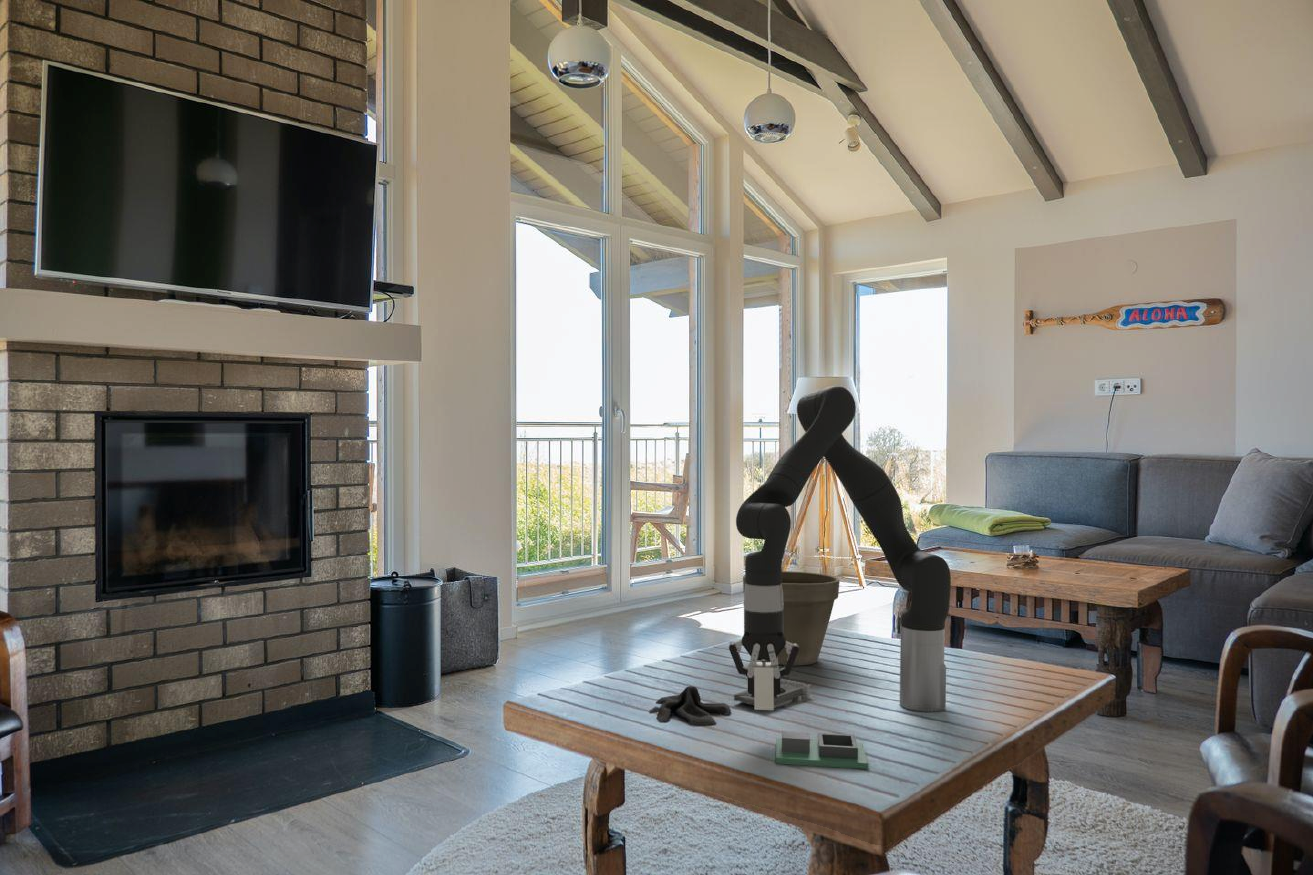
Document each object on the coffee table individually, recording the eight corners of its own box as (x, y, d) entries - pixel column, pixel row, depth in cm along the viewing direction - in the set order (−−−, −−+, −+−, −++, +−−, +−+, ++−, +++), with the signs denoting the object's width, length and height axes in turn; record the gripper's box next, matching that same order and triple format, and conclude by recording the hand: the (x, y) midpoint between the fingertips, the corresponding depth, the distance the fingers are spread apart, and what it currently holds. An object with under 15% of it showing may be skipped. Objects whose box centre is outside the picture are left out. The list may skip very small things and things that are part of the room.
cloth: (669, 696, 213) (669, 669, 213) (746, 709, 204) (746, 680, 204) (619, 723, 193) (620, 693, 193) (702, 737, 185) (703, 706, 185)
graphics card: (767, 674, 220) (811, 683, 212) (768, 690, 220) (811, 700, 212) (721, 689, 208) (766, 698, 199) (721, 706, 207) (766, 716, 199)
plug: (773, 703, 185) (773, 658, 185) (773, 710, 180) (773, 663, 180) (754, 702, 185) (754, 657, 185) (754, 709, 181) (754, 663, 181)
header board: (862, 748, 178) (862, 729, 178) (867, 768, 167) (868, 748, 167) (776, 743, 180) (776, 725, 180) (775, 763, 169) (776, 743, 169)
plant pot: (784, 644, 265) (785, 566, 265) (857, 660, 247) (858, 577, 247) (722, 657, 248) (723, 574, 248) (796, 676, 230) (797, 587, 230)
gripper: (800, 603, 185) (800, 692, 185) (727, 602, 187) (727, 689, 187) (801, 611, 178) (801, 703, 178) (725, 609, 180) (726, 700, 180)
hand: (763, 695), depth 183 cm, fingers closed on plug, 3 cm apart
